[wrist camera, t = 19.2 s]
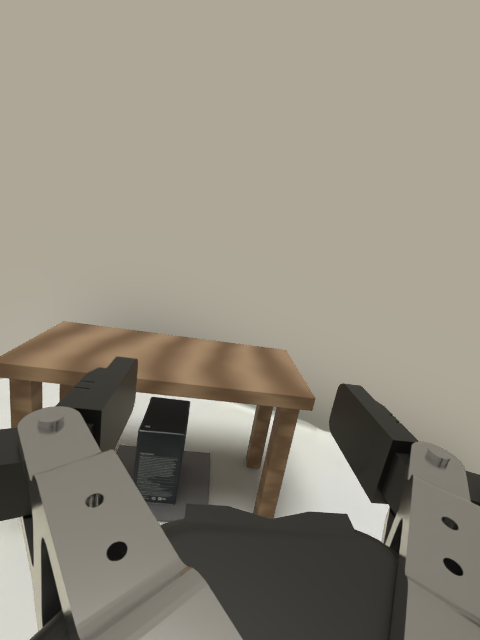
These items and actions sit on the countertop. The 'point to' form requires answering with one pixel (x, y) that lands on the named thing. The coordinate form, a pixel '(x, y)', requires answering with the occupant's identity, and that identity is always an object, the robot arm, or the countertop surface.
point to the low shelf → (172, 382)
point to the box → (161, 450)
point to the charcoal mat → (189, 488)
